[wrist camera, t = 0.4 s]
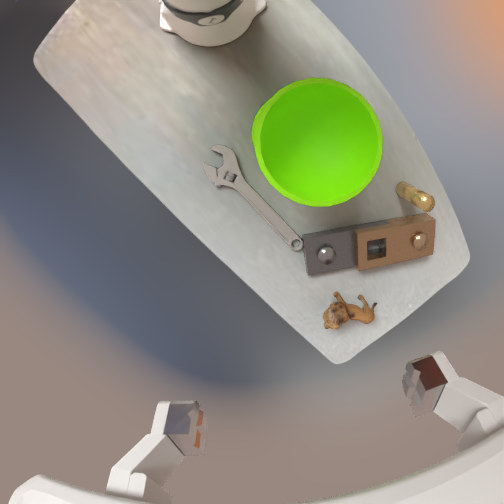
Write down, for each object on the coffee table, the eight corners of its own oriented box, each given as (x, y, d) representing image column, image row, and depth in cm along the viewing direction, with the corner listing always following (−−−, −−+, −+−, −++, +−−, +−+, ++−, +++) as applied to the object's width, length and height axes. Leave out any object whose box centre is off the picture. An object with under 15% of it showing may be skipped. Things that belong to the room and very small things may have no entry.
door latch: (301, 234, 57) (306, 245, 52) (425, 213, 55) (438, 221, 51) (306, 270, 60) (310, 283, 56) (424, 246, 59) (435, 256, 54)
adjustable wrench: (305, 241, 58) (306, 245, 57) (278, 259, 60) (279, 264, 58) (223, 139, 49) (222, 140, 48) (196, 162, 51) (194, 163, 49)
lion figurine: (315, 310, 65) (323, 336, 57) (319, 290, 63) (328, 315, 54) (373, 310, 66) (386, 334, 57) (379, 291, 63) (394, 314, 55)
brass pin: (395, 182, 52) (421, 196, 43) (408, 181, 52) (434, 194, 43) (396, 197, 54) (421, 213, 45) (408, 195, 54) (434, 210, 45)
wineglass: (290, 195, 54) (310, 231, 37) (232, 129, 48) (225, 133, 32) (357, 143, 49) (404, 157, 33) (302, 74, 44) (330, 53, 28)
